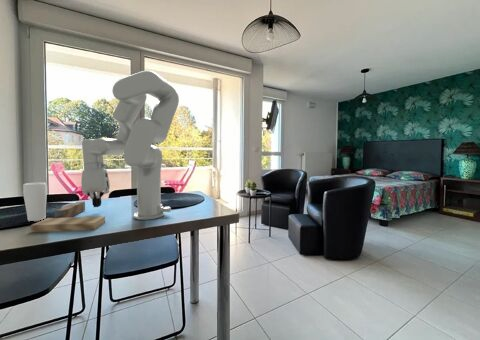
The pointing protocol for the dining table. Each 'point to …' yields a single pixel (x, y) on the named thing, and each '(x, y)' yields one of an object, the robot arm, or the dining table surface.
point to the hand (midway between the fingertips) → (97, 206)
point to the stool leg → (70, 210)
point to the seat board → (68, 224)
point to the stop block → (66, 205)
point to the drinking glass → (35, 200)
